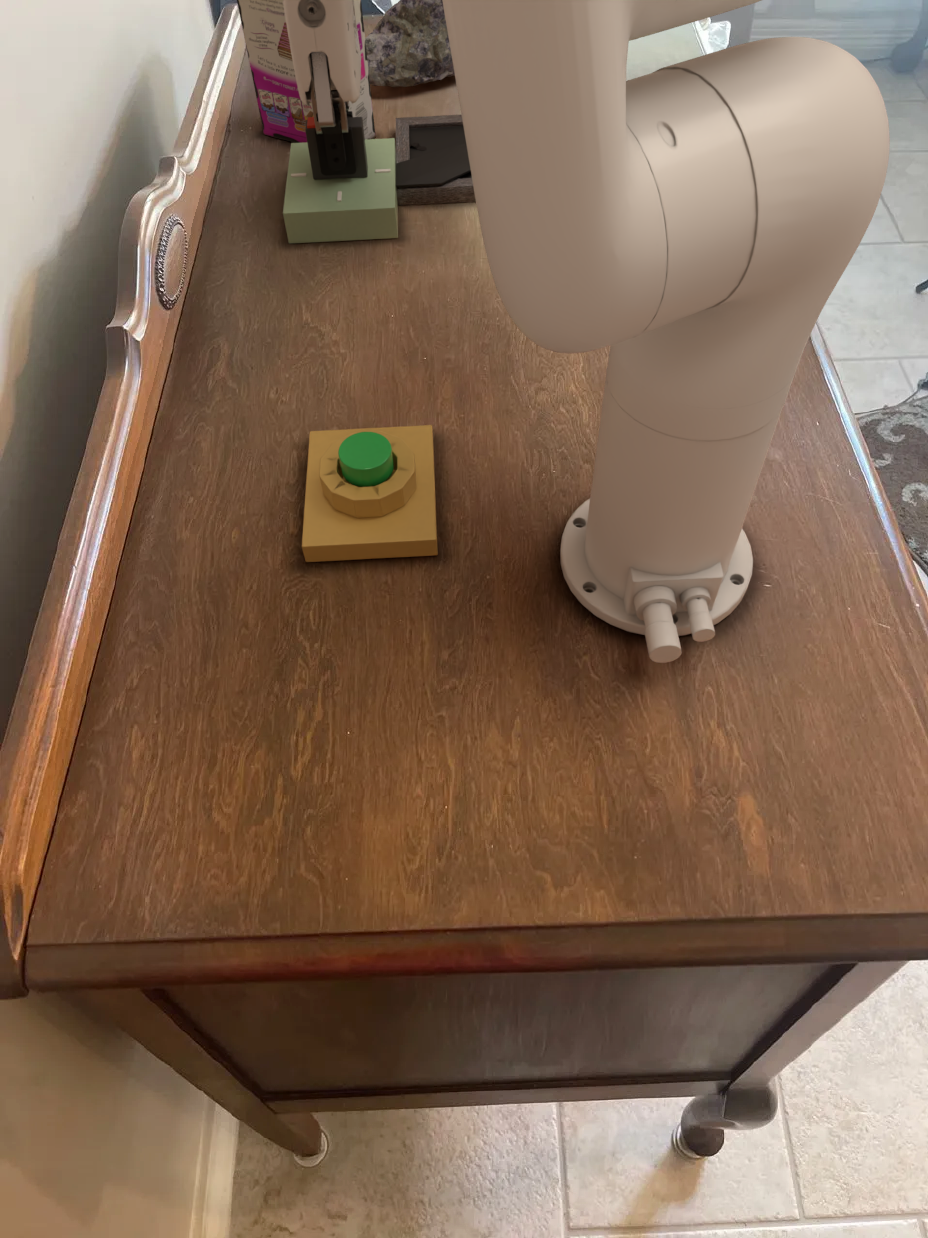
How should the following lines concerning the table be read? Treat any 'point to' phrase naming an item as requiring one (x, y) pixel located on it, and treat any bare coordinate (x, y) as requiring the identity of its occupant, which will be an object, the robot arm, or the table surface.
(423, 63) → the mineral rock
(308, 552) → the switch block
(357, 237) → the dimmer panel
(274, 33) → the candy bar box
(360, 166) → the dimmer knob
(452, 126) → the picture frame
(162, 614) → the table surface
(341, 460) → the button
